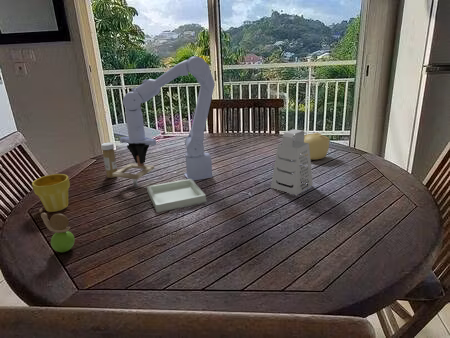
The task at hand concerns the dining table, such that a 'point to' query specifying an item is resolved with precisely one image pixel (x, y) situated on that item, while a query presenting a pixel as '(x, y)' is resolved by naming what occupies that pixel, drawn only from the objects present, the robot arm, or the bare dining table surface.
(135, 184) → the T-head stake
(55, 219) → the snail figurine
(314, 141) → the yellow round pot
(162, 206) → the sage tray
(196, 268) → the dining table surface
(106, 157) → the sprinkles bottle
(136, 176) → the birch frame
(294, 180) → the grater
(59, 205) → the plant pot
